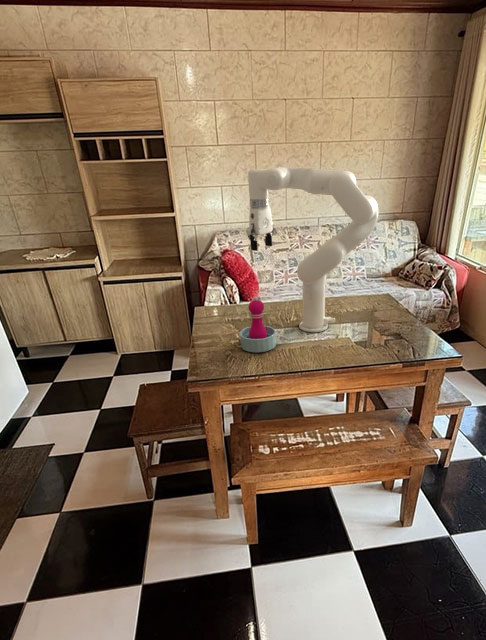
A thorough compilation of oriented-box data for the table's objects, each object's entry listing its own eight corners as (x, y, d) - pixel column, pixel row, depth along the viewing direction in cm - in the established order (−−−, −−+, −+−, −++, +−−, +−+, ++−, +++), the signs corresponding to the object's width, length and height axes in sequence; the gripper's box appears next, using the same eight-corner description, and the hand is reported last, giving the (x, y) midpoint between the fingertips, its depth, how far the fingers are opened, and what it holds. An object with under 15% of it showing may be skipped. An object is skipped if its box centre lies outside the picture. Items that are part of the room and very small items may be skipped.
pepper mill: (265, 348, 160) (262, 300, 150) (247, 347, 161) (243, 299, 152) (269, 341, 166) (266, 293, 156) (252, 340, 168) (248, 293, 158)
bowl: (273, 337, 171) (272, 323, 168) (278, 351, 159) (278, 337, 156) (239, 340, 169) (238, 327, 166) (242, 355, 157) (241, 341, 154)
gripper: (253, 207, 153) (255, 253, 161) (279, 201, 165) (281, 245, 173) (237, 206, 157) (241, 251, 165) (265, 200, 169) (267, 243, 177)
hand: (261, 248), depth 169 cm, fingers open, 9 cm apart
